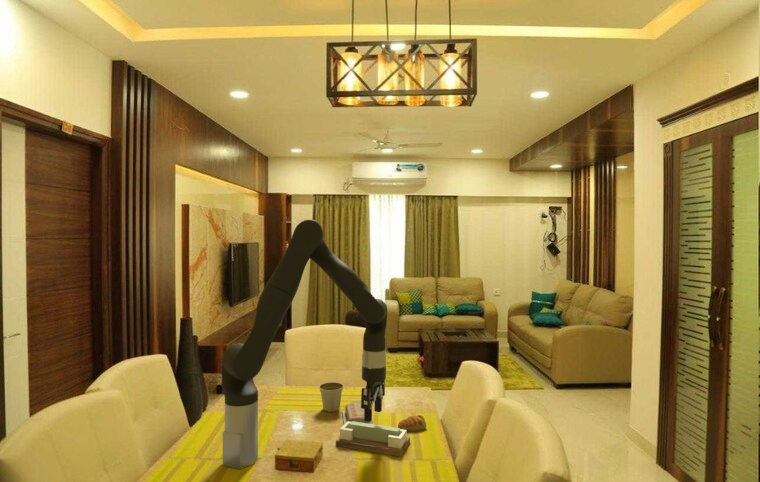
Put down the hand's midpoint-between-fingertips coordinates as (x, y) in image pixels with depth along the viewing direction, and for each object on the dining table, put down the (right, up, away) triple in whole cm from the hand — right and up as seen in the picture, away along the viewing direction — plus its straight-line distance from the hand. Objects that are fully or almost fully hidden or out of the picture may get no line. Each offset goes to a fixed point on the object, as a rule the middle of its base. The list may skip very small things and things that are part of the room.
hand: (373, 416), depth 142 cm
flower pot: (-16, -9, +30) cm, 35 cm away
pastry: (+13, -9, +14) cm, 21 cm away
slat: (0, -8, +1) cm, 8 cm away
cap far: (-8, -7, +4) cm, 11 cm away
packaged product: (-6, -10, +19) cm, 22 cm away
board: (0, -9, +1) cm, 9 cm away
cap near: (+8, -8, -2) cm, 11 cm away
